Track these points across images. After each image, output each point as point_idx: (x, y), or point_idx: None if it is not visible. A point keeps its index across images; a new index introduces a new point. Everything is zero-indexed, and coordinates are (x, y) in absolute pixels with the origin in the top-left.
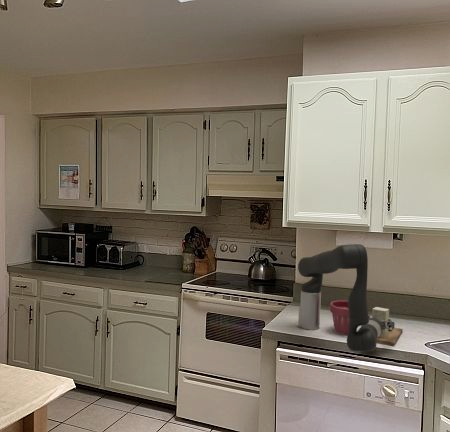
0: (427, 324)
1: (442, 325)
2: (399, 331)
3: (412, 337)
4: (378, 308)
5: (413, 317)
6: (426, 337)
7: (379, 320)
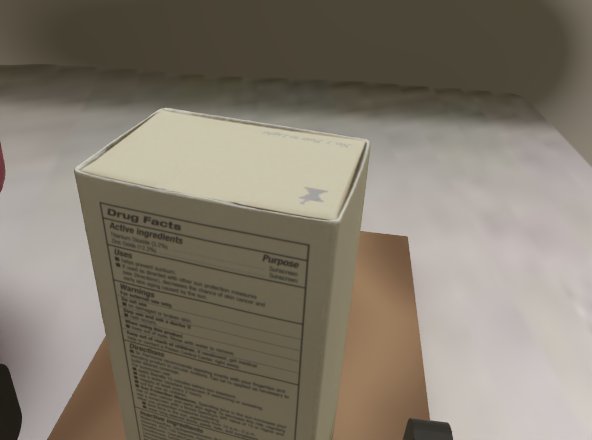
0: (485, 140)
1: (550, 137)
2: (400, 284)
3: (505, 326)
4: (193, 147)
5: (396, 99)
6: (586, 294)
7: (218, 359)
